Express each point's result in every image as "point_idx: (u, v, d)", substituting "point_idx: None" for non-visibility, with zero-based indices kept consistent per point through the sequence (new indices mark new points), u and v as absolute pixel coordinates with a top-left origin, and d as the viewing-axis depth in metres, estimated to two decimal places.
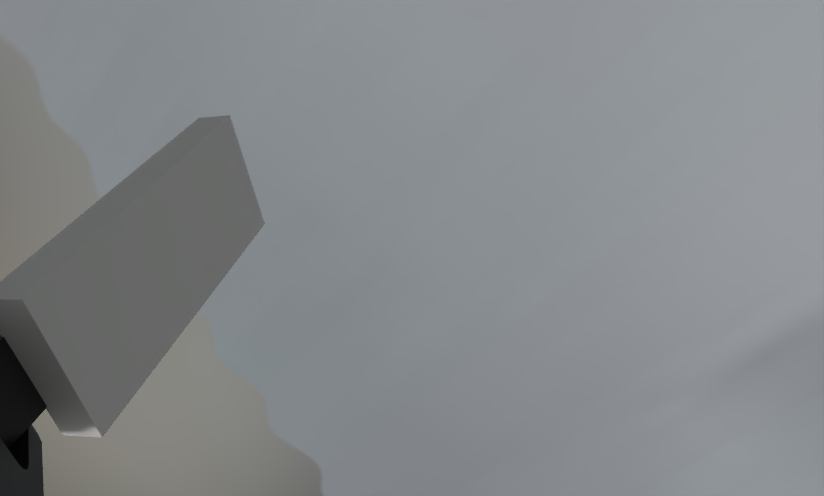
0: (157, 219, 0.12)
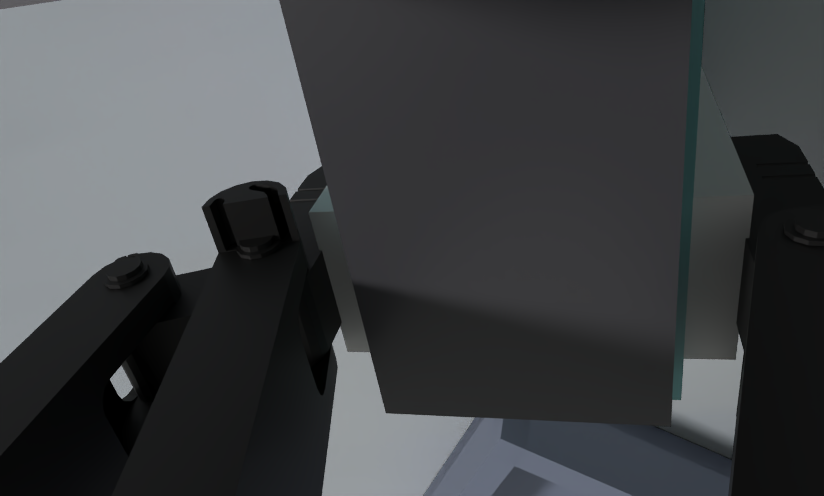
0: None
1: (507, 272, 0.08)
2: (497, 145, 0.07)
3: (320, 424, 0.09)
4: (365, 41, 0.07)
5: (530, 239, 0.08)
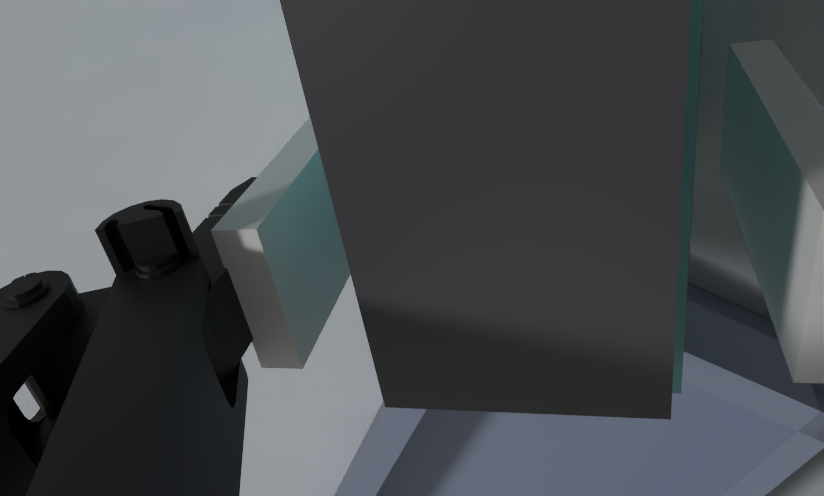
0: None
1: (506, 264, 0.08)
2: (495, 136, 0.07)
3: (233, 435, 0.09)
4: (363, 31, 0.07)
5: (529, 230, 0.08)
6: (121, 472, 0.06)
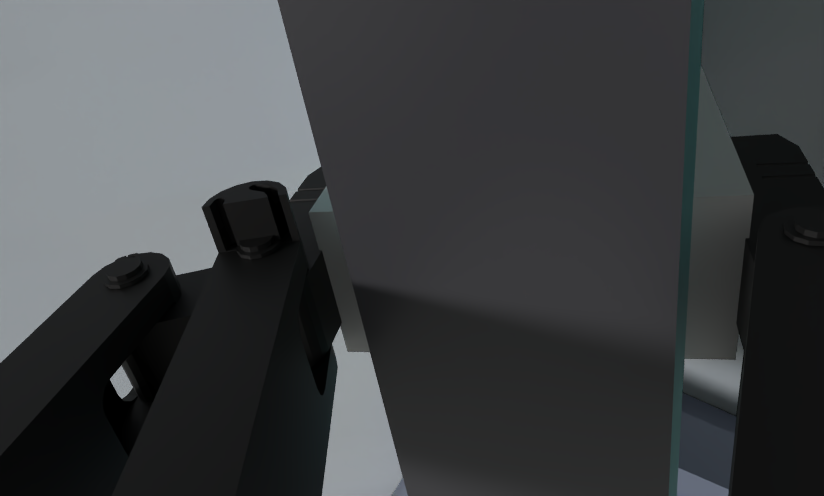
0: None
1: (531, 484, 0.10)
2: (525, 405, 0.09)
3: (320, 424, 0.09)
4: (424, 334, 0.09)
5: (550, 465, 0.10)
6: (214, 458, 0.06)
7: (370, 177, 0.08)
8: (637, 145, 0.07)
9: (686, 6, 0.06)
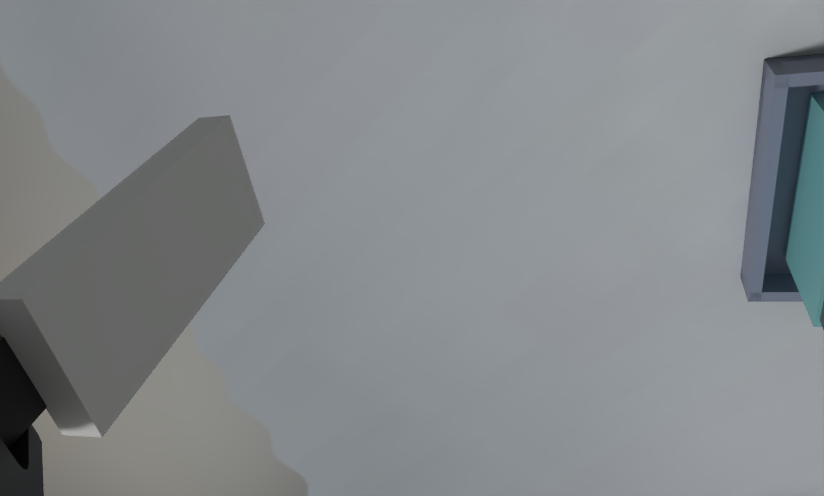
0: (157, 219, 0.12)
1: None
2: None
3: None
4: None
5: None
6: None
7: None
8: None
9: None
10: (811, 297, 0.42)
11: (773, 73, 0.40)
